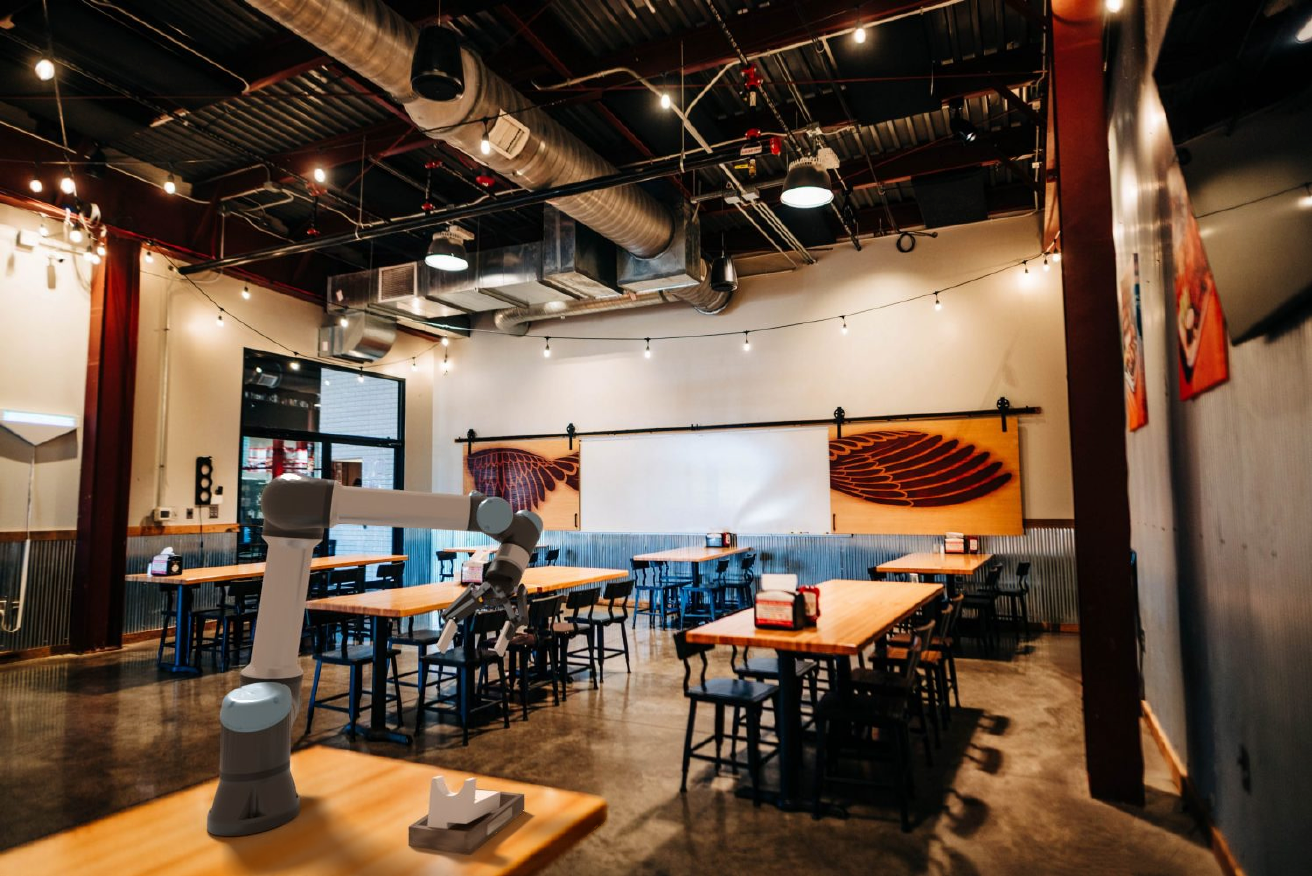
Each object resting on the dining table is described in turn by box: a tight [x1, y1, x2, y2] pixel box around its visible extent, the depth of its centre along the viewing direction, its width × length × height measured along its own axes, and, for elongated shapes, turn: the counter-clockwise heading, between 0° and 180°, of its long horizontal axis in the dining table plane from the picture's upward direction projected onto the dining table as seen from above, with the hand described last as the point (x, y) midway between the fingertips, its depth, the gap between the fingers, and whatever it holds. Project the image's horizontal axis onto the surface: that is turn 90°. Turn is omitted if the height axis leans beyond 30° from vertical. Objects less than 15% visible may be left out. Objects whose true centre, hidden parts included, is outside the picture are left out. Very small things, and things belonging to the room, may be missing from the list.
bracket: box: [427, 775, 500, 828], centre depth 131 cm, size 13×7×8 cm, turn 167°
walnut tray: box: [408, 788, 525, 855], centre depth 131 cm, size 12×18×3 cm
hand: (469, 651), depth 150 cm, fingers open, 13 cm apart
